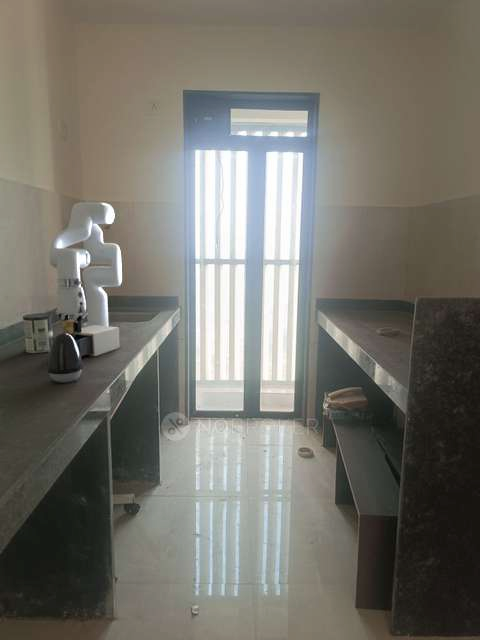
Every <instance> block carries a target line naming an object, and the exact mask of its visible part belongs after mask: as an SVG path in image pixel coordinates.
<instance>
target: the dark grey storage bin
mask: <svg viewBox="0 0 480 640" xmlns="http://www.w3.org/2000/svg"><path fill="white" fill-rule="evenodd" d="M70 335H71V334H70ZM54 338H55V337H53V338H52V341H53V339H54ZM73 339H74V340H75V342H76V344H77V346H78V349H79V352H80V355H81V357H83V356H88V355H87V354H90V353H93V345H92V336H87V335H79V334H76V335H75V336H74V337H73ZM44 351H45V352H44V353H49V351H50V348H44Z"/></svg>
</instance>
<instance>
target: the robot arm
mask: <svg viewBox="0 0 480 640" xmlns="http://www.w3.org/2000/svg"><path fill="white" fill-rule="evenodd" d="M114 220H115V210H114V207H113V206H112V205H111V204H109V203H106V202H97V201H96V202H91V201H86V202H85V201H81V202H80V201H79V202H77V203H74V205H73V206H72V208H71V213H70V218H69V221H68V225H67V227H66V228H65V229H63V230H62V231H60V232H59V233H58V234H57V235H56V236H55V237H54V238H53V240H52V241H51V244H50V248H49V253H48V261H49V264H50V266H51V267H53V268H55V269H57V270H56V273H57V284H58V287H57V291H56V309H55V314H56V315H57V316H58V317H59V319H60V322H62V323H63V321H67V320H70V316H73V320H74V321H75V323H74V332H75V333H76V334H77V333H81V332H82V329H81V328H84V327H88V326H92V325H101V326H109V325H110V324H109V307H108V306H109V305H108V295H107V292H105V290H104V289H103V288H115V287H120V286H121V284H122V282H123V271H122V254H121V249H120V246H119V245H118V244H117V243H113V242H104V236H103V235H104V233H103V230H102V229H101V227H100V225H111V224H112V223H113V222H114ZM81 242H83V248H71V247H70V246H73V245H75V244H79V243H81ZM90 264H104V265H105V264H106V265H107V264H108V265H110V266H104V265H103V266H102V265H101V266H98V265H97V266H92V265H91V266H89V265H90ZM80 269H83V270H82V280H83V282H82V281H81V270H80ZM82 283H83V286H84V287H83V286H81V285H82ZM83 288H84V289H83ZM84 290H85V292H84ZM85 318H86V322H84V323H83V321H84V319H85ZM82 323H83V324H82Z"/></svg>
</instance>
